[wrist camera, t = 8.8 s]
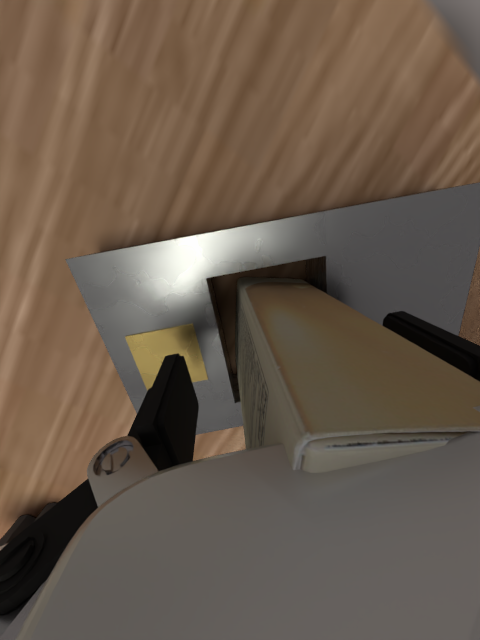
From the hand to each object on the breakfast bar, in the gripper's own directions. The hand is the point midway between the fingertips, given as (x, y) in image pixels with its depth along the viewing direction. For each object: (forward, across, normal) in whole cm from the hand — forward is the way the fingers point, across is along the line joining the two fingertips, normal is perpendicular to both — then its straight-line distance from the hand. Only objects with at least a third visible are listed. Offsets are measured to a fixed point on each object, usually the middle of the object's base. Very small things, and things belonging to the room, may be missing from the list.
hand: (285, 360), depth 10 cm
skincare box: (+6, 0, 0) cm, 6 cm away
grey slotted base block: (+5, -1, 0) cm, 5 cm away
